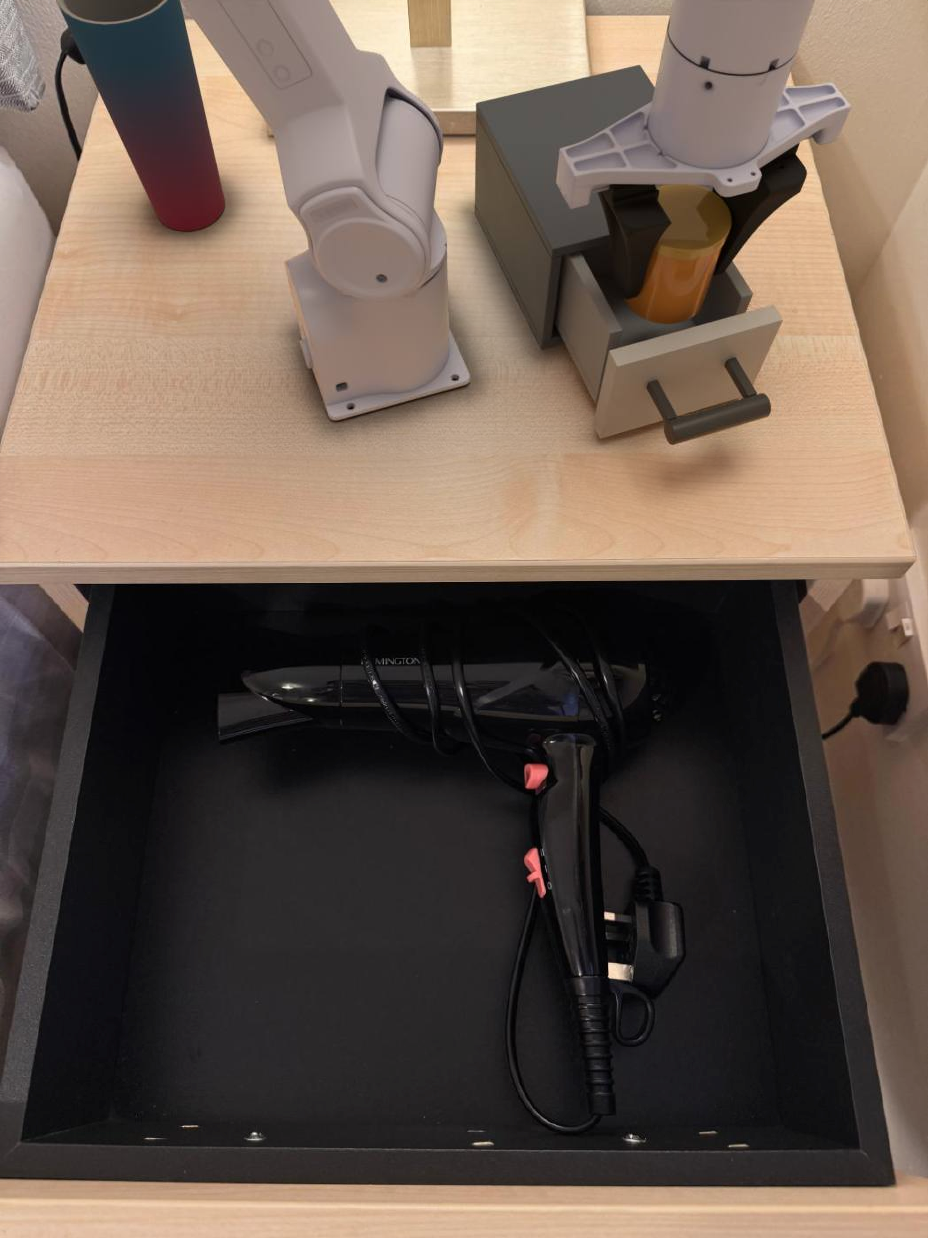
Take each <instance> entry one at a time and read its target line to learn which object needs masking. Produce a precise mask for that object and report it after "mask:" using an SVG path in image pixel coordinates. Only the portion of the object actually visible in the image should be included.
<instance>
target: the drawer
mask: <svg viewBox="0 0 928 1238" xmlns="http://www.w3.org/2000/svg"><path fill="white" fill-rule="evenodd" d="M741 273H742V272H740V270H739V268H738V267H737V265H736V263H735V262H734V260H733V261H732V262H731V264H730V265H729V266H728V268H727V269H726V270H725V271H724V273H723V274H720V275H716V276H713V277H712V280H711V283H710V286H709V289H708V292H707V295H706V298H705V301H704V303H703V306H702V307H701V309H700V310H699V312H698V313H697V314H695V315H694V316H693V317H691V318H690V319H688V320H686V321H683V322H680V323H675V324H660V323H655V322H651V321H648V320H646V319H644V318H642V317H640V316H639V315H637V314H636V313H635V312H633V311H632V310H631V309H630V307H629V306H628V305H627V303H626V301H625V299H624V296H623V294H622V292H621V290H620V288H619V287H618V285H617V283H616V281H615V279H614V277H613V261H612V249H611V243H608V244H604V245H600V246H596V247H593V248H589V249H585V250H581V251H577V252H573V253H570V254H566V255H562V260H561V268H560V275H559V283H558V291H557V299H556V307H555V314H554V323H555V325H556V327H557V329H558V331H559V333H560V335H561V337H562V339H563V341H564V343H563V344H564V345H565V347H566V349H567V351H568V353H569V355H570V357H571V359H572V361H573V362H574V365H575V367H576V369H577V371H578V374H580V377H581V379H582V381H583V383H584V384H585V387H586V389H587V391H588V393H589V395H590V397H591V399H592V401H593V403H594V404H595V405H596V404H597V405H596V409H595V414H594V419H593V423H592V424H593V426H594V428H595V431H596V432H597V435H598V437H599V438H600V439H604V438H607V437H611V436H614V435H618V434H622V433H624V432H628V431H631V430H634V429H637V428H642V427H645V426H648V425H652V424H655V423H659V422H663V423H664V424H663V432H664V436H665V439H666V442H667V443H668V444H669V445H671V446H675V445H679V444H682V443H684V442H689V441H692V440H695V439H698V438H702V437H705V436H708V435H712V434H715V433H719V432H721V431H725V430H729V429H732V428H735V427H738V426H743V425H745V424H746V425H747V424H749V423H752V422H756V421H759V420H762V419H766V418H769V416H770V415H771V412H772V404H771V400H770V398H769V396H768V395H767V394H766V393H764V392H760V393H758V391H757V390H756V389H755V386H754V384H755V382H756V380H757V378H758V376H759V374H760V371H761V369H762V367H763V365H764V362H765V360H766V358H767V356H768V354H769V351H770V349H771V348H772V345H773V343H774V341H775V338H776V336H777V334H778V332H779V330H780V327H781V326H782V323H783V321H784V319H783V317H782V315H781V314H780V312H779V310H778V309H777V308H776V306H775V305H774V304H770V305H767V306H765V307H760V308H757V309H754V310H750V311H748V308H749V305H750V303H751V300H752V298H753V296H754V293H753V290H751V288H750V286H749V284H748V282H747V281H746V280H745V278H744V276H743V275H742V274H741Z"/></svg>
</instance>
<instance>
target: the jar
mask: <svg viewBox="0 0 928 1238" xmlns="http://www.w3.org/2000/svg"><path fill="white" fill-rule="evenodd" d="M658 189H659V192H660V193H659V197H658V201H659V203H660V204H661V206H662V208H663V209H664V211H665V213H666V214H667V216H668V218H669V219H670V221H671V223H672V224H671V225H670V226H669V227H668V228H667V229H666V231H665V232H664V233H663V235H662V236H661V238H660V239H659V241H658V243H657V245H656V247H655V249H654V251H653V253H652V256H651V258H650V261H649V264H648V268H647V272H646V276H645V280H644V284H643V287H642V289H641V291H640V293H639V295H638V297H635V298H631V299H625V297H624V299H625V301H626V303H627V305H628V306H629V307H630V309H631V310H632V311H633V312H635V313H636V314H637V315H639V316H640V317H642V318H644V319H646V320H648V321H651V322H655V323H660V324H675V323H680V322H683V321H686V320H688V319H690V318H691V317H693V316H694V315H695V314H697V313H698V312H699V310H700V309H701V307H702V306H703V303H704V301H705V298H706V295H707V292H708V289H709V286H710V283H711V280H712V277H713V274H714V271H715V268H716V265H717V262H718V259H719V256H720V253H721V250H722V247H723V245H724V243H725V242H726V240H727V237H728V235H729V232H730V229H731V224H732V218H731V213H730V210H729V208H728V206H727V204H726V203H725V202H724V201H723V200H722V199H721V198H720V197H719V196H718V195H717V194H715V193H714V192H712V191H711V190H709V189H707V188H704V187H701V186H698V185H663V186H660V187H658V188H657V190H658Z"/></svg>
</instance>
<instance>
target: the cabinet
mask: <svg viewBox="0 0 928 1238" xmlns="http://www.w3.org/2000/svg"><path fill="white" fill-rule="evenodd" d="M654 89H655V85H654V84H653V82H652V81H651V79H650V78H649V76H648V75H647V73H646V71H645V70H644V69H643V67H642V66H641V65H640V64H637V65H633V66H628V67H624V68H623V67H622V68H620V69H615V70H610V71H607V72H602V73H598V74H593V75H589V76H585V77H581V78H577V79H573V80H568V81H564V82H558V83H555V84H550V85H546V86H543V87H538V88H534V89H530V90H525V91H521V92H516V93H513V94H508V95H504V96H500V97H495V98H491V99H487V100H482V101H478V102H476V103H475V153H474V154H475V158H474V159H475V162H474V163H475V164H474V214H475V216H476V218H477V220H478V222H479V224H480V226H481V228H482V230H483V232H484V235H485V236H486V238H487V241H488V242H489V245H490V246H491V249H492V251H493V253H494V256H495V257H496V259H497V261H498V263H499V265H500V268H501V270H502V271H503V273H504V275H505V277H506V280H507V282H508V284H509V286H510V288H511V290H512V292H513V294H514V296H515V298H516V300H517V302H518V305H519V307H520V308H521V310H522V313H523V315H524V317H525V319H526V321H527V323H528V325H529V327H530V330H531V331H532V333H533V336H534V338H535V340H536V342H537V343H538V346H539V348H540V349H541V350H543V349H547V348H552V347H555V346H558V345H562V344H565V343H564V341H563V339H562V337H561V335H560V333H559V331H558V329H557V327H556V325H555V323H554V314H555V307H556V299H557V291H558V283H559V275H560V268H561V260H562V255H566V254H570V253H573V252H577V251H581V250H585V249H589V248H593V247H596V246H600V245H604V244H608V243H611V241H610V235H609V230H608V225H607V221H606V217H605V214H604V210H603V207H602V204H601V201H600V198H599V195H598V193H593V194H591V198H590V203H589V204H588V205H586V206H582V207H578V208H574V209H570V207H569V205H568V204H567V202H566V200H565V199H564V197H563V195H562V193H561V191H560V189H559V187H558V185H557V183H556V178H557V169H558V160H559V151H560V148H563V147H567V146H570V145H574V144H576V143H579V142H581V141H584V140H586V139H588V138H590V137H592V136H594V135H596V134H597V133H599V132H601V131H602V130H604V129H606V128H608V127H609V126H611V125H613V124H614V123H616V122H618V121H619V120H621V119H623V118H625V117H626V116H628V115H630V114H631V113H633V112H635V111H636V110H638V109H640V108H641V107H643V106H645V105H647V104H648V103H650V102H652V99H653V94H654ZM660 186H663V185H662V184H655V187H656V188H658V187H660ZM698 186H701V187H704V188H707V189H709V190H711V191H712V189H713V186H711V185H698Z"/></svg>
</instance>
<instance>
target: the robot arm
mask: <svg viewBox="0 0 928 1238" xmlns="http://www.w3.org/2000/svg"><path fill="white" fill-rule="evenodd" d="M180 2H181V5H182V6H183V7H184V8H185V10H186V11H187V12H188V14H189V16H190V17H191V18H192V20H193V21H194V22H195V24H196V25H197V26H198V28H199V29H200V31H201V32H202V33H203V35H204V36H205V38H206V40H208V43H210V45H211V47H213V49H214V51H215V53H217V55H218V56H219V57H220V59H221V60H222V62H223V63H224V64H225V66H226V67H227V69H228V70H229V71H230V72H231V74H232V76H233V77H234V78H235V80H236V82H237V83H238V84H239V86H240V87H241V89H242V90H243V92H244V93H245V94H246V95H247V97H248V98H249V100H250V102H251V103H252V104H253V106H254V107H255V108H256V110H257V111H258V112H259V114H260V115H261V117H262V118H263V120H264V121H265V122H266V123H267V125H268V127H269V128H270V130H271V132H272V136H273V140H274V145H275V150H276V155H277V160H278V166H279V171H280V176H281V181H282V185H283V191H284V196H285V200H286V205H287V207H288V208H289V210H290V212H291V213H292V214H293V215H294V217H295V218H296V219H297V221H298V222H299V224H300V225H301V227H302V229H303V232H304V234H305V237H306V240H307V247H308V249H306V250H304V251H303V252H300V253H299V254H296V255H293V256H292V257H289V258H288V259H286V260H284V267H285V273H286V277H287V280H288V285H289V289H290V294H291V299H292V301H293V302H292V303H293V306H294V310H295V313H296V319H297V322H298V327H299V334H300V337H301V339H300V340H299V344H300V347H301V351H302V355H303V358H304V361H305V365H306V367H307V369H309V370H311V369H312V372H313V374H314V378H315V381H316V384H317V387H318V389H319V392H320V396H321V398H322V401H323V403H324V407H325V409H326V412H327V415H328V418H329V419H330V420H332V421H340V420H343V419H347V418H351V417H354V416H359V415H363V414H367V413H369V412H372V411H377V410H380V409H384V408H387V407H391V406H394V405H398V404H402V403H406V402H409V401H413V400H415V399H416V400H417V399H420V398H423V397H427V396H430V395H435V394H438V393H441V392H445V391H448V390H452V389H456V388H459V387H462V386H467V385H468V384H469V383H470V381H471V374H470V372H469V369H468V367H467V364H466V362H465V359H464V358H463V355H462V353H461V350H460V349H459V346H458V343H457V341H456V339H455V336H454V335H453V332H452V330H451V328H450V321H449V320H450V316H449V277H448V276H449V275H448V272H449V271H448V238H447V237H448V236H447V231H446V228H445V226H444V223H443V222H442V220H441V218H440V216H439V214H438V213H437V211H436V209H435V199H436V190H437V181H438V180H437V179H438V171H439V167H440V165H441V164H442V156H443V153H444V136H443V131H442V127H441V125H440V122H439V120H438V118H437V117H436V114H435V113H434V112H433V110H432V109H431V108H430V106H429V105H427V103H426V102H424V101H423V99H421V98H420V97H418V96H417V95H415V94H414V93H413V92H412V91H410V90H409V89H407V88H406V86H404V85H403V84H402V83H401V82H400V80H399V79H398V78H397V76H396V75H395V74H394V73H393V70H392V68H391V67H390V65H389V63H388V62H387V59H386V58H385V57H384V55H382V54H381V53H378V52H374V51H369V50H361V49H358V48H357V47H356V46H355V44H354V42H353V40H352V39H351V37H350V35H349V33H348V31H347V30H346V28H345V26H344V23H342V21H341V18H340V17H339V15H338V14H337V12H336V9H335V8H334V7H333V5H332V3H331V2H330V0H180ZM815 2H816V0H672V2H671V8H670V13H669V17H668V21H667V27H666V33H665V37H664V41H663V46H662V49H661V50H662V51H661V56H660V61H659V66H658V70H657V76H656V79H655V85H654V87H655V89H654V94H653V99H652V102H650V103H648V104H647V105H645V106H643V107H641V108H640V109H638V110H636V111H635V112H633V113H631V114H630V115H628V116H626V117H625V118H623V119H621V120H619V121H618V122H616V123H614V124H613V125H611V126H609V127H608V128H606V129H604V130H602V131H601V132H599V133H597V134H596V135H594V136H592V137H590V138H588V139H586V140H584V141H581V142H579V143H576V144H574V145H570V146H567V147H563V148H560V151H559V160H558V169H557V178H556V183H557V185H558V187H559V189H560V191H561V193H562V195H563V197H564V199H565V200H566V202H567V204H568V205H569V207H570V209H574V208H578V207H582V206H586V205H588V204H589V203H590V198H591V194H593V193H598V195H599V198H600V201H601V204H602V207H603V210H604V214H605V217H606V221H607V225H608V230H609V235H610V241H611V249H612V261H613V277H614V279H615V281H616V283H617V285H618V287H619V288H620V290H621V292H622V294H623V296H624V297H625V299H631V298H635V297H638V295H639V293H640V291H641V289H642V287H643V284H644V280H645V276H646V272H647V268H648V264H649V261H650V258H651V256H652V253H653V251H654V249H655V247H656V245H657V243H658V241H659V239H660V238H661V236H662V235H663V233H664V232H665V231H666V229H667V228H668V227H669V226H670V225H671V224H672V223H671V221H670V219H669V218H668V216H667V214H666V213H665V211H664V209H663V208H662V206H661V204H660V203H659V201H658V197H659V193H660V192H659V189H658V190H657V188H656V187H655V184H662V185H711V186H713V189H712V192H714V193H715V194H717V195H718V196H719V197H720V198H721V199H722V200H723V201H724V202H725V203H726V204H727V206H728V208H729V210H730V213H731V218H732V224H731V229H730V232H729V235H728V237H727V240H726V242H725V243H724V245H723V247H722V250H721V253H720V256H719V259H718V262H717V265H716V268H715V271H714V274H713V276H716V275H720V274H723V273H724V271H725V270H726V269H727V268H728V266H729V265H730V264H731V262H732V261H733V262H734V260H735V258H736V257H737V255H738V254H739V252H741V250H742V249H743V247H744V246H745V245H746V244H747V242H748V241H749V240H750V238H751V237H752V236H753V235H754V233H755V232H756V231H757V230H758V229H759V228H760V226H761V225H762V224H763V223H764V222H765V221H766V220H767V219H768V218H769V217H770V216H772V214H773V213H775V212H776V211H777V210H778V209H780V208H781V206H783V205H784V204H786V203H787V202H788V201H789V200H791V199H792V198H794V197H795V196H797V195H798V194H800V193H801V192H802V189H803V188H804V184H805V182H806V179H807V175H808V171H807V168H806V166H805V165H804V163H803V162H802V160H801V158H799V156H798V155H797V152H798V149H799V147H800V144H801V143H802V142H803V141H805V140H810V139H813V141H814V142H815V143H816V144H817V145H818V146H825V145H828V144H833V143H836V142H838V140H839V137H840V135H841V133H842V131H843V128H844V126H845V124H846V121H847V119H848V116H849V113H850V111H851V108H852V105H851V104H850V102H848V100H847V98H845V97H844V95H843V94H842V93H841V91H840V90H839V89H838V88H837V86H836V84H835V83H834V82H833V81H830V82H824V83H819V84H811V85H810V84H809V85H791V86H790V85H787V82H788V79H789V78H790V74H791V71H792V70H793V66H794V63H795V60H796V57H797V54H798V51H799V48H800V45H801V42H802V39H803V37H804V34H805V31H806V28H807V25H808V22H809V20H810V16H811V13H812V11H813V7H814V4H815ZM453 379H454V380H453ZM455 379H456V380H455ZM350 408H352V409H350Z"/></svg>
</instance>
